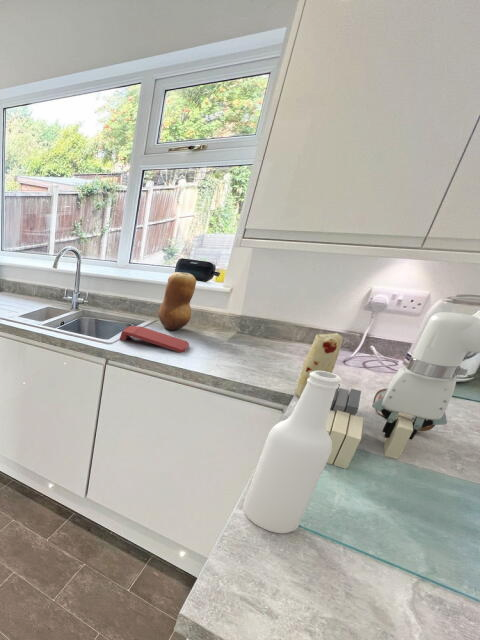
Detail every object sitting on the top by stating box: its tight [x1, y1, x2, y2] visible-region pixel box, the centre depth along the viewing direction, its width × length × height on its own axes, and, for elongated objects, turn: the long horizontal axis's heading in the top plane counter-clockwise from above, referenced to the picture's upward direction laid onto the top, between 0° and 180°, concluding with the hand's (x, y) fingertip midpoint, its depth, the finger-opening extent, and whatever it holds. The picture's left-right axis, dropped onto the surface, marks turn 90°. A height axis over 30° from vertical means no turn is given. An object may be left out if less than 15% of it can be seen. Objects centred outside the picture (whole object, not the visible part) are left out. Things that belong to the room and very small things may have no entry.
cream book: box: [383, 412, 413, 461], centre depth 100 cm, size 2×13×8 cm, turn 137°
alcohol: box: [242, 371, 342, 534], centre depth 73 cm, size 9×9×30 cm
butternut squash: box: [157, 271, 197, 331], centre depth 184 cm, size 14×13×25 cm
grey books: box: [330, 383, 362, 417], centre depth 107 cm, size 6×13×10 cm, turn 137°
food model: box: [294, 332, 344, 398], centre depth 122 cm, size 10×7×20 cm
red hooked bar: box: [119, 325, 190, 354], centre depth 170 cm, size 12×5×25 cm
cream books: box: [326, 410, 365, 470], centre depth 98 cm, size 8×13×8 cm, turn 137°
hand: (395, 437), depth 100 cm, fingers closed on cream book, 2 cm apart
